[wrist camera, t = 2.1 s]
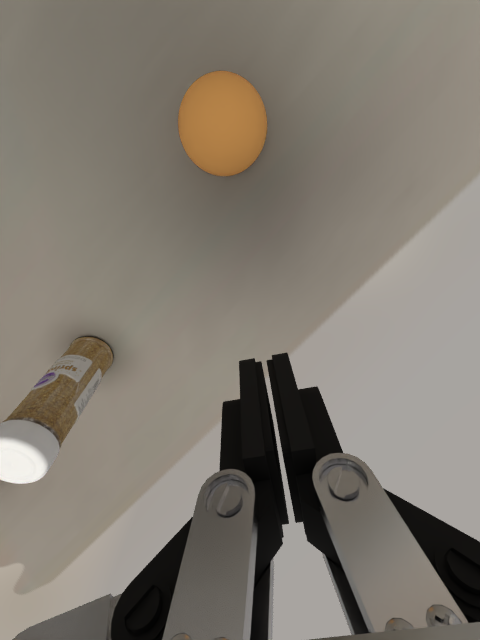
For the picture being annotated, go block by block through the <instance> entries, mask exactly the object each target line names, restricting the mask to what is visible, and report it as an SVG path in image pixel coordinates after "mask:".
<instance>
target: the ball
mask: <svg viewBox="0 0 480 640" xmlns="http://www.w3.org/2000/svg"><path fill="white" fill-rule="evenodd" d="M178 128H179V135H180V139H181V142H182V145H183V147H184V149H185V151H186V153H187V155H188V156H189V157H190V159H191V160H192V161H193V162H194V163H195V164H196V165H197V166H198V167H199V168H201V169H202V170H204V171H206V172H208V173H210V174H213V175H217V176H231V175H235V174H238V173H240V172H242V171H244V170H245V169H247V168H248V167H249V166H251V165H252V164H253V162H254V161H255V160H256V159H257V157H258V156H259V154H260V152H261V150H262V148H263V145H264V143H265V139H266V133H267V116H266V111H265V107H264V104H263V102H262V99H261V97H260V95H259V94H258V92H257V91H256V89H255V88H254V87H253V86H252V85H251V84H250V83H249V82H248V81H247V80H246V79H244V78H243V77H241V76H239V75H237V74H235V73H232V72H228V71H215V72H211V73H208V74H205V75H203V76H201V77H200V78H199V79H197V80H196V81H195V82H194V83H193V84H192V85H191V86H190V87H189V89H188V90H187V92H186V94H185V95H184V97H183V100H182V102H181V106H180V109H179V116H178Z"/></svg>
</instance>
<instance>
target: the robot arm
mask: <svg viewBox="0 0 480 640" xmlns="http://www.w3.org/2000/svg"><path fill="white" fill-rule="evenodd" d="M267 366H268V372H269V377H270V383H271V389H272V395H273V401H274V406H275V412H276V418H277V424H278V430H279V436H280V441H281V447H282V452H283V458H284V463H285V468H286V474H287V479H288V485H289V490H290V495H291V500H292V505H293V511H294V516H295V522H296V523H297V522H303V524H304V529H305V534H306V536H307V541H308V542H310V543H311V544H312V545H313V546H315V547H316V548H317V549H318V550H320V551H321V552H322V553H323V558H324V561H325V563H326V566H327V569H328V571H329V574H330V577H331V580H332V582H333V585H334V588H335V590H336V593H337V596H338V598H339V602H340V604H341V607H342V610H343V612H344V615H345V618H346V620H347V623H348V626H349V629H350V631H351V634H352V635H348V636H339V637H330V638H321V639H311V640H480V542H479V541H477V540H476V539H474V538H472V537H470V536H468V535H466V534H465V533H463V532H461V531H459V530H457V529H456V528H454V527H452V526H450V525H448V524H447V523H445V522H443V521H441V520H439V519H437V518H436V517H434V516H432V515H430V514H429V513H427V512H425V511H423V510H421V509H420V508H418V507H416V506H414V505H412V504H411V503H409V502H407V501H405V500H403V499H402V498H400V497H398V496H396V495H394V494H392V493H391V492H389V491H387V490H385V489H383V488H382V486H381V485H380V483H379V481H378V480H377V479H376V477H375V475H374V474H373V472H372V470H371V469H370V468H369V467H368V466H367V465H366V463H365V462H363V461H362V460H360V459H359V458H357V457H355V456H352V455H350V454H345V453H343V451H342V449H341V446H340V443H339V441H338V438H337V436H336V433H335V430H334V428H333V425H332V423H331V420H330V417H329V415H328V412H327V410H326V407H325V404H324V402H323V399H322V396H321V394H320V391H319V389H318V387H311V388H305V389H299V390H298V388H297V385H296V382H295V378H294V374H293V371H292V367H291V364H290V361H289V357H288V354H287V353H282V354H277V355H272V360H267ZM239 372H240V399H238V400H232V401H226V402H223V407H222V429H221V430H222V431H221V452H220V471H219V472H217V473H215V474H213V475H212V476H211V477H209V478H208V479H207V480H206V482H205V483H204V484H203V486H202V487H201V490H200V492H199V495H198V498H197V502H196V506H195V511H194V515H193V517H192V518H191V519H190V520H189V521H188V522H187V523H186V524H185V525H184V526H183V528H182V529H181V530H180V531H179V532H178V533H177V534H176V535H175V536H174V537H173V538H172V539H171V540H170V541H169V542H168V544H167V545H166V546H165V547H164V548H163V549H162V550H161V551H160V552H159V553H158V554H157V555H156V557H154V558H153V560H152V561H151V562H150V563H149V564H148V565H147V566H146V567H145V568H144V569H143V570H142V571H141V572H140V573H139V575H138V576H137V577H136V578H135V579H134V580H133V581H132V582H131V583H130V584H129V586H128V587H127V588H126V589H125V591H124V592H123V593H122V594H120V595H117V596H115V597H113V596H112V595H111V594H109V595H106V596H104V597H101V598H99V599H96V600H94V601H92V602H89V603H87V604H84V605H82V606H79V607H77V608H75V609H72V610H70V611H68V612H65V613H63V614H60V615H58V616H55V617H53V618H51V619H48V620H46V621H43V622H41V623H38V624H36V625H34V626H31V627H29V628H27V629H26V630H24V631H23V632H21V633H19V634H18V635H17V636H16V637H15V638H14V639H13V640H272V623H273V621H272V620H273V580H274V562H273V557H274V556H275V554H276V553H277V551H278V550H279V549H280V547H281V546H282V544H283V542H282V537H283V529H282V524H289V521H288V514H287V508H286V501H285V495H284V489H283V482H282V475H281V469H280V463H279V457H278V450H277V444H276V437H275V431H274V424H273V419H272V414H271V408H270V403H269V398H268V393H267V388H266V383H265V378H264V373H263V368H262V363H261V361H260V362H255V359H254V358H253V359H248V360H242V361H239Z"/></svg>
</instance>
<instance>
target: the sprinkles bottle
mask: <svg viewBox="0 0 480 640" xmlns="http://www.w3.org/2000/svg"><path fill="white" fill-rule="evenodd" d="M112 361H113V354H112V351H111V349H110V347H109V346H108V345H107V344H106V343H105V342H103V341H101V340H99V339H97V338H94V337H81V338H78V339H76V340H75V341H73V342H72V344H71V345H70V347H69V349H68V350H67V351H66V352H65V353H64V354H63V356H62V357H61V358H60V359H58V360H57V361H56V362H55V363H54V365H53V366H52V367H51V368H50V369H49V370H48V371H47V373H46V374H45V375H44V376H43V377H42V378H41V379H40V380H39V382H38V383H37V384H36V385H35V386H34V387H33V388H32V390H31V392H30V393H29V394H28V395H27V397H26V398H25V399H24V400H23V401H22V402H21V403H20V404H19V406H18V407H17V408H16V409H15V410H14V411H13V412H12V414H11V415H10V416H9V417H8V418H7V419H6V420H5V421H3V422H2V423H1V424H0V480H3V481H6V482H11V483H18V484H24V483H31V482H34V481H37V480H39V479H41V478H42V477H43V476H44V475H45V474H46V473H47V471H48V470H49V468H50V467H51V465H52V464H53V462H54V460H55V459H56V457H57V455H58V453H59V450H60V448H61V444H62V442H63V441H64V439H65V438H66V436H67V434H68V433H69V431H70V429H71V428H72V426H73V425H74V424H75V422H76V421H77V420H78V418H79V416H80V415H81V413H82V411H83V410H84V408H85V406H86V405H87V403H88V401H89V400H90V398H91V396H92V395H93V393H94V392H95V390H96V388H97V387H98V385H99V383H100V381H101V378H102V377H103V375H104V373H105V372H106V370H107V369H108V368H109V367H110V366H111V364H112Z"/></svg>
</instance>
